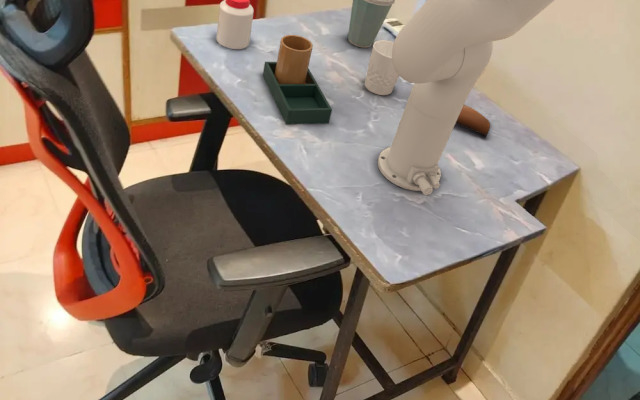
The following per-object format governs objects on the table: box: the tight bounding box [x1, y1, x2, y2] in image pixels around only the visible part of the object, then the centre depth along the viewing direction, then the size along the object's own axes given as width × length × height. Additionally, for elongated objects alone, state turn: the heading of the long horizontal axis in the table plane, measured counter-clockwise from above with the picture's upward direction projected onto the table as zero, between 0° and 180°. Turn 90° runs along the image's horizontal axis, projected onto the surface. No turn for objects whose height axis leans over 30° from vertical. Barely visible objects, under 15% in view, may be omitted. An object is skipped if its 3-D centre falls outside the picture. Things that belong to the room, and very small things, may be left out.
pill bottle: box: [216, 0, 255, 50], centre depth 136 cm, size 8×8×11 cm
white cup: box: [364, 39, 400, 96], centre depth 134 cm, size 8×8×10 cm
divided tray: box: [262, 61, 333, 126], centre depth 126 cm, size 9×18×4 cm, turn 20°
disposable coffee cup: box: [347, 0, 396, 49], centre depth 148 cm, size 11×11×15 cm
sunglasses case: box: [455, 104, 491, 137], centre depth 133 cm, size 18×7×7 cm
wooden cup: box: [275, 34, 314, 84], centre depth 126 cm, size 7×7×10 cm
